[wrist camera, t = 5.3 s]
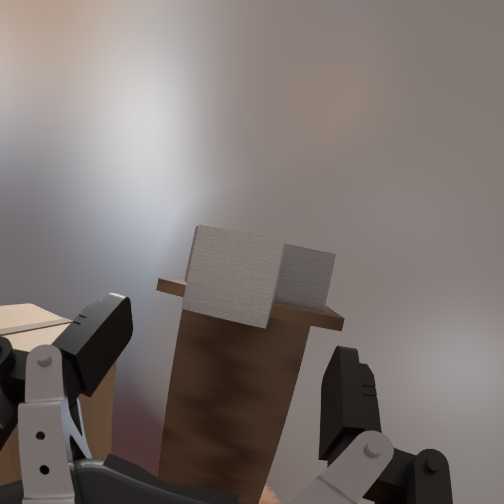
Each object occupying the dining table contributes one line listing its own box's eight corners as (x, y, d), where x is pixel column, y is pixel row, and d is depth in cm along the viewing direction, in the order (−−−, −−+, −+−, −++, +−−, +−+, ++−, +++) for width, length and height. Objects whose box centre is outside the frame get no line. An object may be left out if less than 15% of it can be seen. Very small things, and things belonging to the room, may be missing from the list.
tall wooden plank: (134, 558, 18) (158, 278, 20) (158, 518, 26) (194, 277, 28) (243, 588, 17) (344, 318, 18) (251, 542, 25) (325, 305, 27)
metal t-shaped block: (100, 285, 11) (122, 184, 11) (204, 279, 28) (213, 236, 28) (364, 346, 10) (387, 233, 10) (314, 303, 27) (324, 258, 27)
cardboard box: (-9, 545, 9) (-77, 309, 10) (45, 502, 21) (31, 302, 22) (69, 600, 8) (-1, 379, 9) (115, 541, 20) (119, 338, 21)
